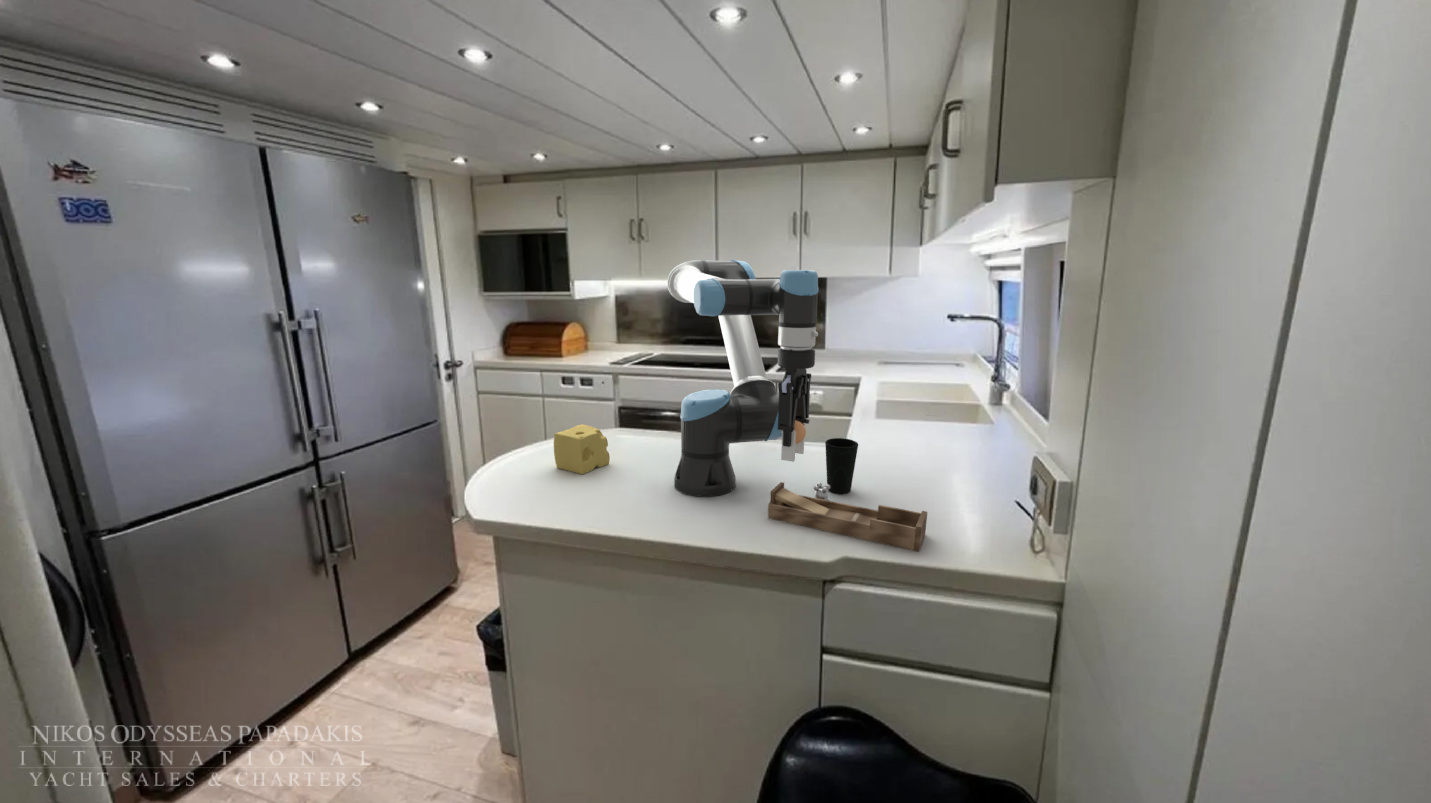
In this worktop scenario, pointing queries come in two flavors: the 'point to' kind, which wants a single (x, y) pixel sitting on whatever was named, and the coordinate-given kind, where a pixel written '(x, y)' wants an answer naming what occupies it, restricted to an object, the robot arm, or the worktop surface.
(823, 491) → the silver knobbed handle
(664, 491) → the worktop surface
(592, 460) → the cheese
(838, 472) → the cup
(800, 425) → the ball
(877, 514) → the lane
